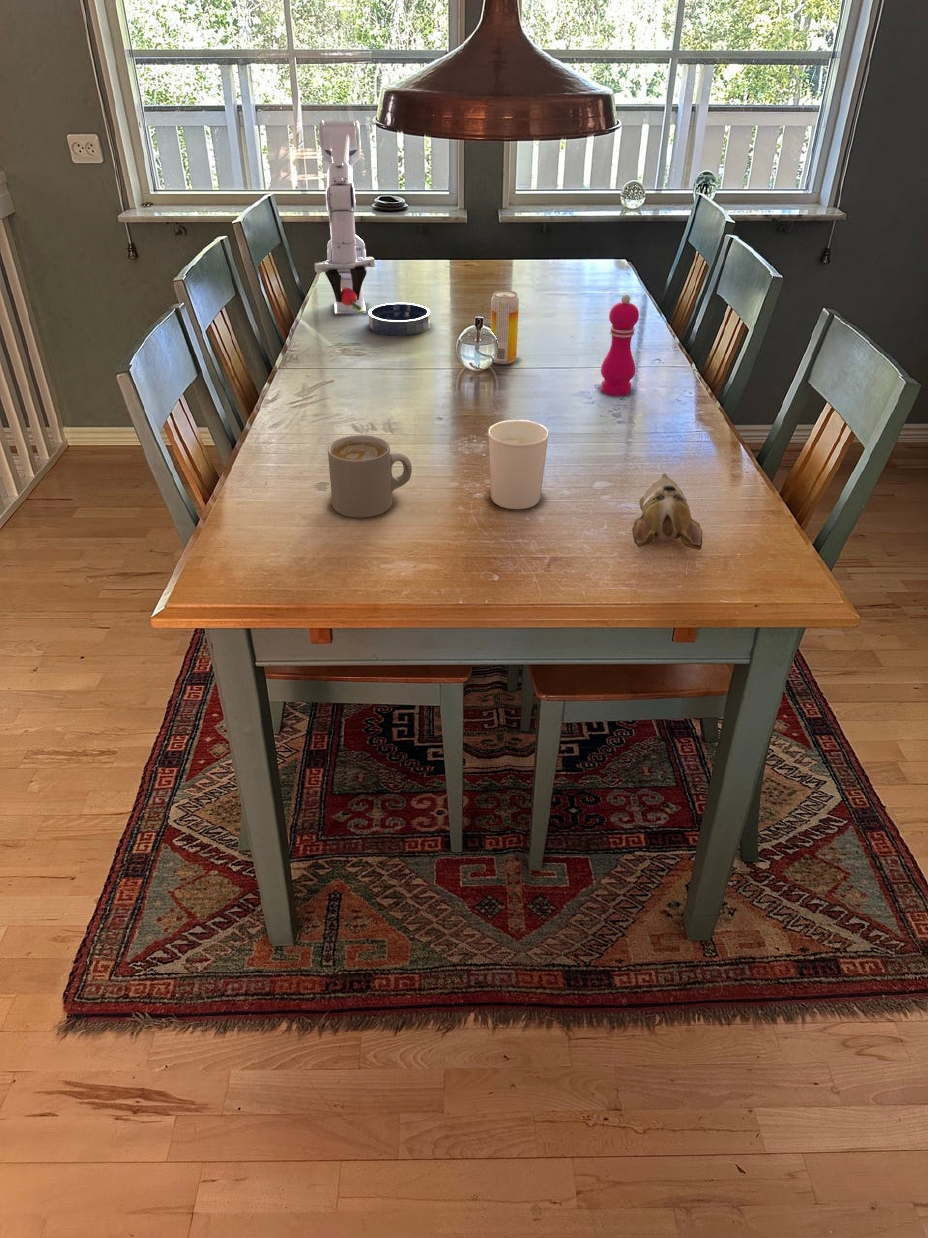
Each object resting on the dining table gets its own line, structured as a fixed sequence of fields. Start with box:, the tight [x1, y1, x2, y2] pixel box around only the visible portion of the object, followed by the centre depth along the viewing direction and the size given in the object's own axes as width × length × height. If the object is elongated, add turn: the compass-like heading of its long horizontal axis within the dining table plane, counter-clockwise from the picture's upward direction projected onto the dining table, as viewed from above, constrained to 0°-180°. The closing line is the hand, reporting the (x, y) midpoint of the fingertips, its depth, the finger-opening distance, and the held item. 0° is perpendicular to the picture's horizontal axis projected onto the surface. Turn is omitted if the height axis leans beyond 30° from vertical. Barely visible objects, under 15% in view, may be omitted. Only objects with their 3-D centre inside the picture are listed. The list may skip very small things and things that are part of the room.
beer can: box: [490, 289, 520, 365], centre depth 202 cm, size 6×6×15 cm
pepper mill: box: [600, 294, 640, 397], centre depth 186 cm, size 7×7×20 cm
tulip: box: [341, 287, 367, 314], centre depth 216 cm, size 11×4×4 cm, turn 27°
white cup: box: [487, 419, 550, 510], centre depth 148 cm, size 10×10×12 cm
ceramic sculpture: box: [631, 472, 703, 551], centre depth 139 cm, size 11×9×15 cm
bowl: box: [368, 302, 431, 337], centre depth 224 cm, size 15×15×4 cm
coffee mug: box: [327, 434, 413, 519], centre depth 146 cm, size 13×10×10 cm
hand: (347, 300), depth 218 cm, fingers closed on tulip, 4 cm apart
